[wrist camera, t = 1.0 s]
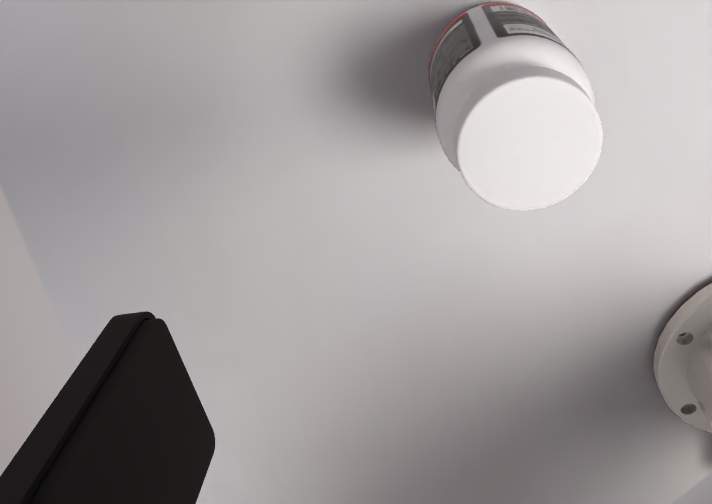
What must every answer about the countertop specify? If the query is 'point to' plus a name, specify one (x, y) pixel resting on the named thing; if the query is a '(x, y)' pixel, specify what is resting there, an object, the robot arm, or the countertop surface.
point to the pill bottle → (513, 108)
